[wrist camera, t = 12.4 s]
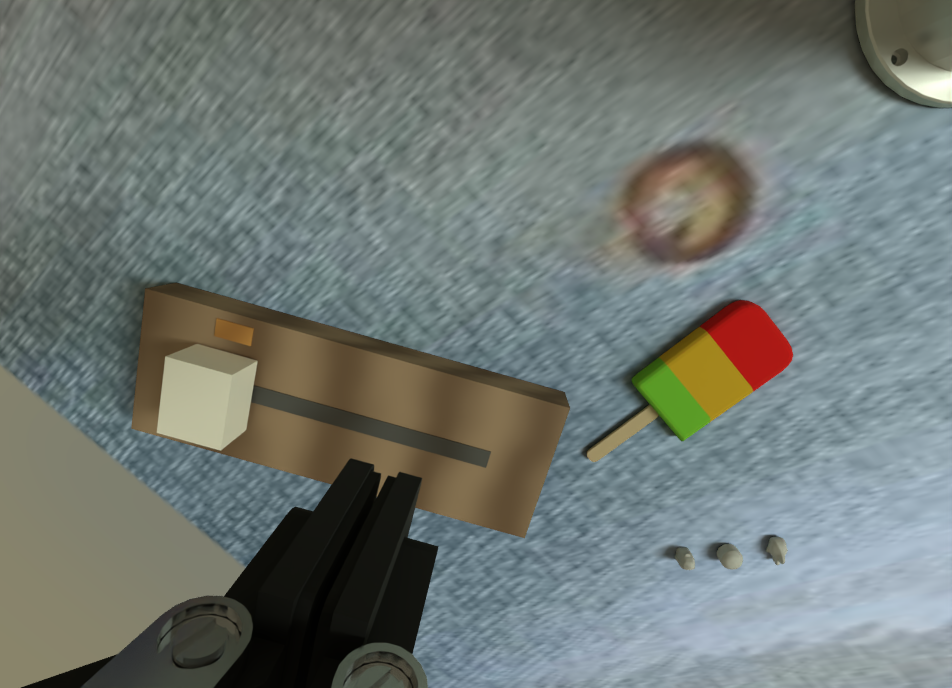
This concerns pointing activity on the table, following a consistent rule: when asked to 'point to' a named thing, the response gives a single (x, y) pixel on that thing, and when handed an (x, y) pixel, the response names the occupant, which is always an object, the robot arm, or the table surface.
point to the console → (364, 407)
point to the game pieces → (733, 554)
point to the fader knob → (206, 396)
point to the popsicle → (706, 373)
